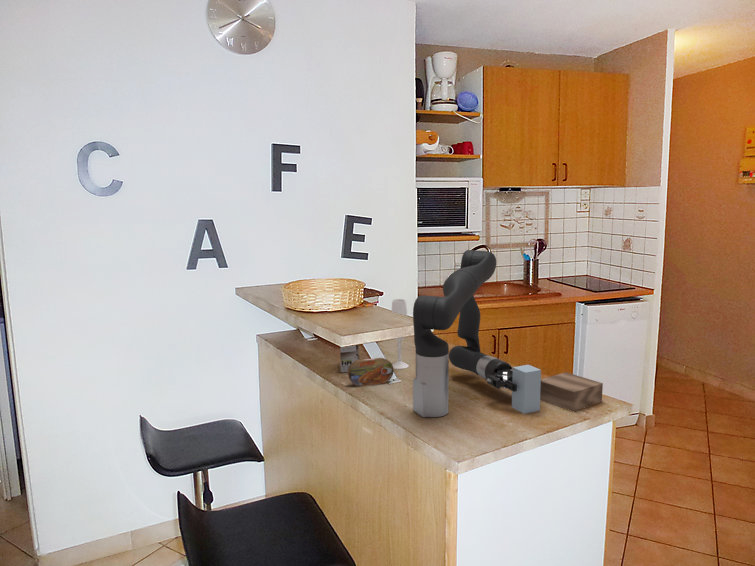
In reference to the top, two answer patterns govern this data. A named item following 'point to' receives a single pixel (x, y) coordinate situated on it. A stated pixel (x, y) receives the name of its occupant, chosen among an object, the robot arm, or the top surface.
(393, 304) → the champagne flute
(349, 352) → the coffee box
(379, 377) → the tin
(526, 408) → the slate block
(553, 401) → the walnut block
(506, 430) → the top surface
